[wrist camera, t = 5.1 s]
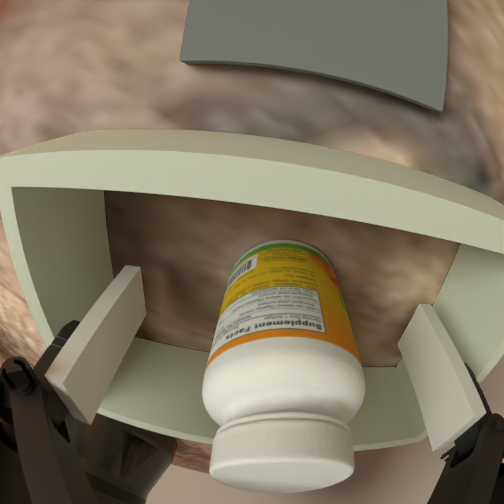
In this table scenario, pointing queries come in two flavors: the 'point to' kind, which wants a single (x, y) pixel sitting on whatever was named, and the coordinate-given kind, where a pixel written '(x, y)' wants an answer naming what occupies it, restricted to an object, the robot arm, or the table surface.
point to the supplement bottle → (283, 374)
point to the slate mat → (329, 41)
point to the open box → (248, 192)
